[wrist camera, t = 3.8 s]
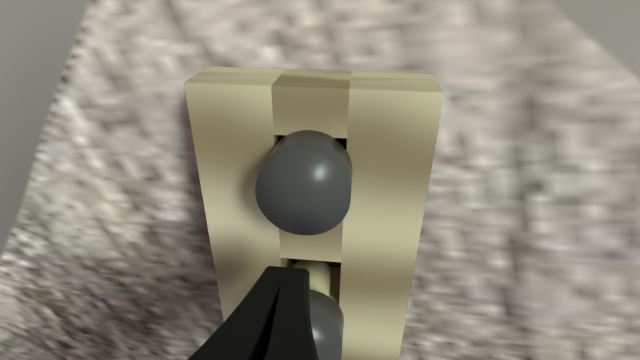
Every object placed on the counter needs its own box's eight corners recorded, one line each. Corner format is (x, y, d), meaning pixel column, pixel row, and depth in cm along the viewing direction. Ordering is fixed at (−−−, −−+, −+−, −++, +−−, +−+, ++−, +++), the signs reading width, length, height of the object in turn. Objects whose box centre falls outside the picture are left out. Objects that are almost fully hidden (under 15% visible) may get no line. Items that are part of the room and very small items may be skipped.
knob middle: (345, 299, 20) (339, 391, 16) (280, 293, 21) (256, 382, 16) (348, 247, 19) (342, 334, 14) (277, 242, 19) (250, 326, 14)
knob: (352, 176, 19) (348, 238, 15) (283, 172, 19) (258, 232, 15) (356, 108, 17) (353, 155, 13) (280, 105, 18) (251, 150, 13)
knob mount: (387, 364, 26) (390, 407, 23) (247, 350, 27) (235, 390, 24) (431, 73, 16) (444, 92, 14) (211, 66, 17) (183, 82, 15)
